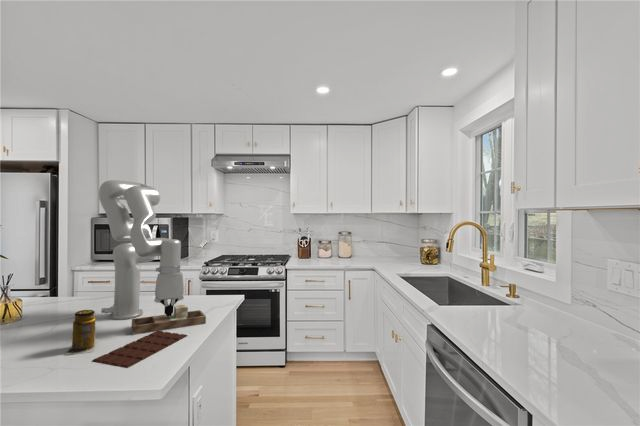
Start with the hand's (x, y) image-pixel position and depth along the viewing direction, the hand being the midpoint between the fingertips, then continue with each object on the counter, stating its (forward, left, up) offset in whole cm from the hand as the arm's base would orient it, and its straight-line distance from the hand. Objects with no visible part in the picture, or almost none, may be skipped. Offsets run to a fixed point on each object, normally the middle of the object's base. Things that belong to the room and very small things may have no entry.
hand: (168, 315), depth 131 cm
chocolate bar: (-10, -19, -5) cm, 22 cm away
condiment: (-28, -11, -4) cm, 30 cm away
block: (+4, 0, -1) cm, 5 cm away
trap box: (0, 0, -4) cm, 4 cm away
